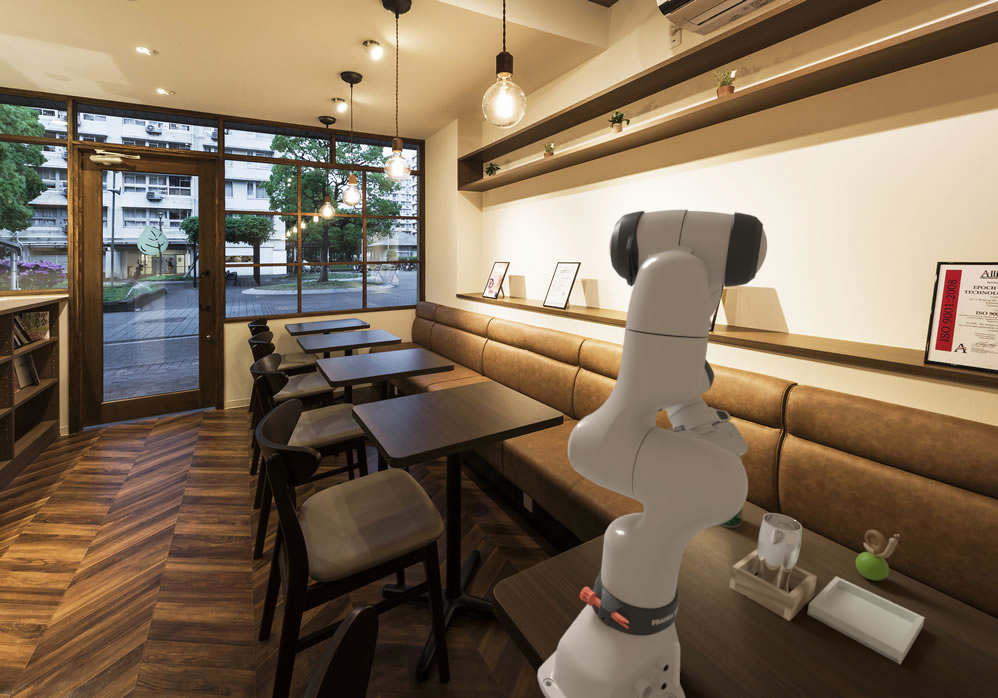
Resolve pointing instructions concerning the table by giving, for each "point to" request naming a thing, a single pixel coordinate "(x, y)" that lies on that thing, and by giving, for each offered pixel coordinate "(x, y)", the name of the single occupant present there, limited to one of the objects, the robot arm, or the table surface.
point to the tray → (867, 618)
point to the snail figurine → (875, 555)
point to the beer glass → (778, 549)
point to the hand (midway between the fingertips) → (728, 482)
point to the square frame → (773, 587)
